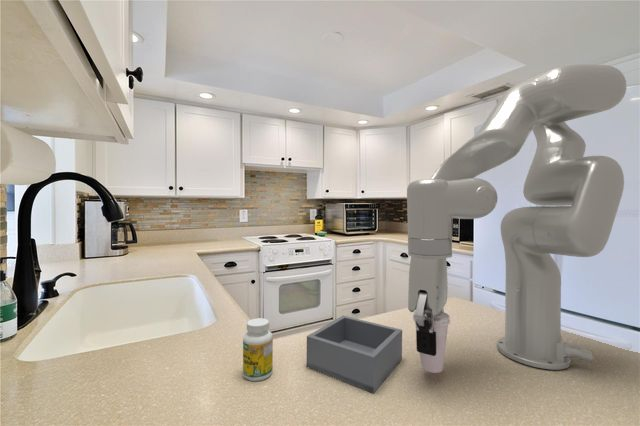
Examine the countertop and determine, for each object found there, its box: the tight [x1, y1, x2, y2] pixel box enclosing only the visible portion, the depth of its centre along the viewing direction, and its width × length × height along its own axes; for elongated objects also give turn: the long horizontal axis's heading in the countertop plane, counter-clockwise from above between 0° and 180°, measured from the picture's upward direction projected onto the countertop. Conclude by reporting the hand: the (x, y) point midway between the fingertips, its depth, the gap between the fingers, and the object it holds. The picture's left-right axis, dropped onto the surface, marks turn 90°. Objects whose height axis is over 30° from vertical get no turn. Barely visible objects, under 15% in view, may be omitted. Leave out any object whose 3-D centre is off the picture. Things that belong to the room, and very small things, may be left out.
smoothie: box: [412, 309, 451, 374], centre depth 53 cm, size 6×6×14 cm
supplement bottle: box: [242, 317, 274, 382], centre depth 53 cm, size 5×5×10 cm
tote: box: [305, 315, 403, 394], centre depth 57 cm, size 14×14×6 cm
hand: (431, 344), depth 53 cm, fingers closed on smoothie, 6 cm apart
